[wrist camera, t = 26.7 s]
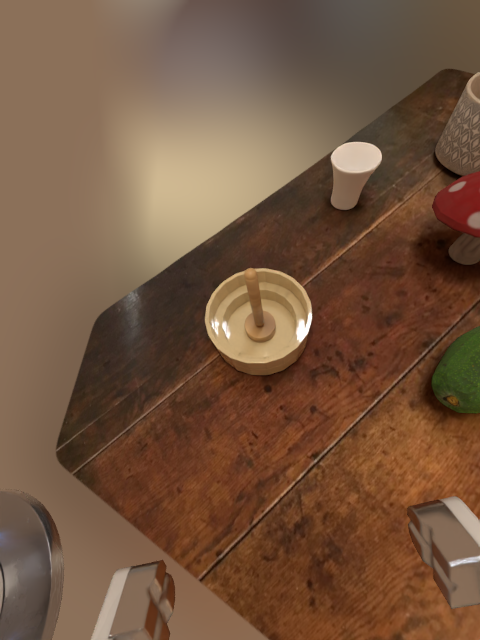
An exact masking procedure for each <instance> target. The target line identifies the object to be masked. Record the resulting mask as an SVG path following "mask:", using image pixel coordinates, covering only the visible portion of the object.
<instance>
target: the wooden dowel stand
mask: <svg viewBox="0 0 480 640" xmlns="http://www.w3.org/2000/svg"><path fill="white" fill-rule="evenodd" d="M244 277H245V282H246V286H247V291H248V295H249V300H250V304H251V309H252V313H251V314H249V315H248V316H247V318H246V320H245V324H244V326H245V330H246V333H247V336H248V337H249V338H250V339H251V340H253V341H255V342H259V343H262V342H266V341H268V340H270V339H271V338H272V337H273V336H274V334H275V331H276V324H275V319H274V317H273V316H272V315H271V314H270V313H269V312H267V311H263V309H262V302H261V296H260V289H259V282H258V275H257V272H256V270H255V269H253V268H249V269H247V270H246V271H245V273H244Z"/></svg>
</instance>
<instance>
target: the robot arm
mask: <svg viewBox="0 0 480 640" xmlns="http://www.w3.org/2000/svg"><path fill="white" fill-rule="evenodd" d="M407 515H408V516H409V518H410V520H411V521H410V522H409V524H408V528H409V533H410V536H411V539H412V542H413V544H414V546H415V548H416V550H417V552H418V553H419V555H420V557H421V559H422V560H423V561H424V562H425V563H426V564H428V565H429V566H430V567H432V568H433V577H434V580H435V582H436V584H437V585H438V587H439V589H440V590H441V592H442V594H443V595H444V597H445V599H446V600H447V602H448V604H449V605H450V607H451V609H453V608H459V607H465V606H472V605H478V604H480V520H479V519H478V518H477V517H476V516H475V515H474V514H473V513H472V511H471V510H470V509H469V508H468V507H467V506H466V505H465V504H464V502H463V501H462V500H461V499H459V498H458V497H454V496H453V497H449V498H444V499H440V500H434V501H430V502H426V503H421V504H417V505H413V506H409V507H408V508H407ZM2 602H3V577H2V572H1V568H0V613H1V608H2ZM174 602H175V586H174V581H173V578H172V576H171V575H170V574H168V573H166V565H165V563H164V561H163V560H161V561H156V562H152V563H147V564H142V565H138V566H131V567H127V568H122V569H118V570H117V571H116V573H115V574H114V576H113V577H112V581H111V583H110V586H109V589H108V592H107V595H106V597H105V601H104V603H103V606H102V609H101V612H100V615H99V617H98V620H97V623H96V626H95V629H94V632H93V635H92V638H91V640H169V637H170V631H169V629H168V626H167V622H168V621H169V619H170V617H171V615H172V614H173V609H174Z"/></svg>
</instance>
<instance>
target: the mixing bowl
mask: <svg viewBox="0 0 480 640" xmlns="http://www.w3.org/2000/svg"><path fill="white" fill-rule="evenodd" d="M255 270H256V272H257V275H258V282H259V289H260V296H261V302H262V309H263V311H267V312H269V313H270V314H271V315H272V316H273V317H274V319H275V324H276V331H275V334H274V336H273V337H272V338H271V339H270V340H268V341H266V342H262V343H259V342H255V341H253V340H251V339H250V338H249V337H248V336H247V333H246V330H245V326H244V324H245V320H246V318H247V316H248V315H249V314H251V313H252V309H251V304H250V300H249V295H248V291H247V286H246V282H245V277H244V273H245V271H243V272H240V273H237V274H235V275H233V276H231V277H230V278H228V279H227V280H225V281H224V282H222V283H221V284H220V286H219V287H218V288H217V289H216V290H215V291H214V292H213V293H212V296H211V298H210V300H209V302H208V304H207V307H206V315H205V324H206V328H207V332H208V335H209V337H210V339H211V340H212V342H213V343H214V345H215V346H216V348H217V350H218V351H219V353H220V354H221V356H222V357H223V359H224V360H225V361H226V362H227V363H228V364H230V365H231V366H232V367H234V368H235V369H236V370H238V371H241V372H244V373H247V374H251V375H270V374H273V373H276V372H279V371H282V370H284V369H286V368H287V367H288V366H290V365H291V364H293V363H294V362H295V361H296V360H297V359H298V358H299V356H300V355H301V353H302V352H303V351H304V349H305V346H306V343H307V339H308V336H309V331H310V326H311V322H312V308H311V302H310V300H309V298H308V295H307V293H306V291H305V289H304V288H303V287H302V286H301V285H300V284H299V283H298V282H297V281H296V280H295V279H294V278H292V277H290V276H288V275H286V274H284V273H282V272H280V271H275V270H271V269H265V268H264V269H255Z"/></svg>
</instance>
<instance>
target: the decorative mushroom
mask: <svg viewBox="0 0 480 640" xmlns="http://www.w3.org/2000/svg"><path fill="white" fill-rule="evenodd" d="M432 208H433V210H434V213H435V215H436V217H437V219H438V220H439V221H441V222H442V223H444V224H445V225H447V226H448V227H450V228H451V229H453V230H456V231H459V232H462V233H464V234H462V235H461V236H460V237H459V238H458V239H457V240H456V241H455V242H454V243H453V244H452V245H451V246H450V248H449V255H450V257H451V258H452V259H453V260H454V261H456V262H458V263H461V264H464V265H472V264H475V263H477V262H479V261H480V171H478V172H475V173H471V174H468V175H465V176H463V177H461V178H459V179H458V180H456V181H455V182H453V183H452V184H450V185H449V186H447V187H446V188H444V189H443V190H441V191H440V192H438V194H437V195H436V196H435V199H434V202H433V205H432Z"/></svg>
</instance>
